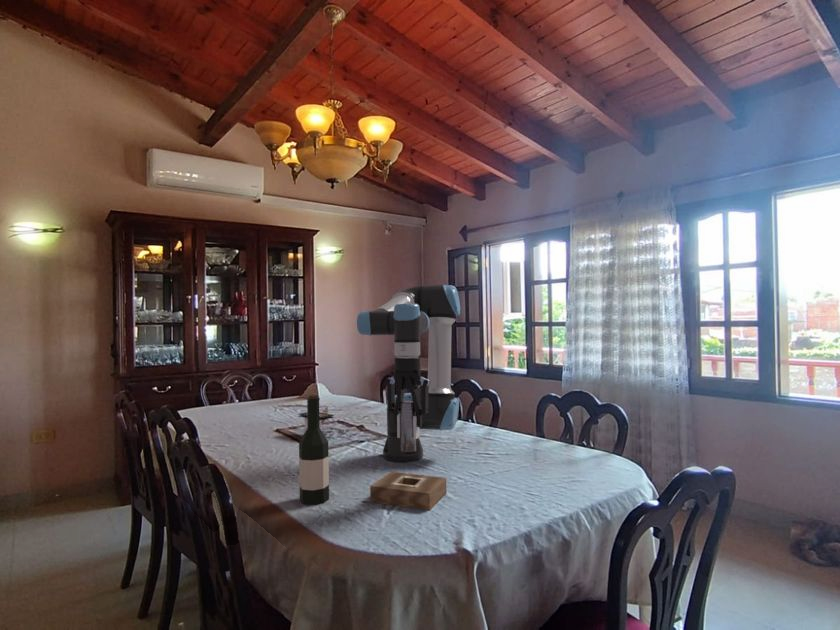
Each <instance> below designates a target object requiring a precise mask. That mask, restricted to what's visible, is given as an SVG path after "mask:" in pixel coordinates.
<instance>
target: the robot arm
mask: <svg viewBox="0 0 840 630" xmlns="http://www.w3.org/2000/svg"><path fill="white" fill-rule="evenodd" d="M460 315H461V302H460V297H459V292H458V289H457V288H456V286H454V285H450V284H438V285H437V284H435V285H432V284H431V285H415V286H410V287H407V288H405V289H402V290H400V291H398V292H396V293H395V294H393V296H392V297H391V299H390V300H389V301H386V302H385V303H384V304H382V305H380V306H379V307H378V308H376V309H374V310H366V311H360V312H359V313H358V315H357V318H356V328H357V331H358V334H360V335H362V336H363V335H365V336H370V337H371V336H393V337H394V339H393V341H394V344H393V345H394V347H393V349H394V356H395V358H394V374H393V376H391V377H388V378H387V377H386V378H385V379H384V380H385V384H386V386H387V387H386V388H387V389H386V391H387V403H386V425H387V426H386V427H387V429H386V431H387V434H386V435H387V436H386V439H385V442H384V446H383V449H382V458H383V459H385V460H387V461H391V462H400V463H402V462H412V461H417V460H420V459H422V458H423V457H424V448H423V445H422V443H421V440H420V430H433V431H434V430H435V431H440V432H441V431H451V430H453V429H454V428H455V426H456V424H457V422H458V417H459V410H460V408H459V407H460V400H459V398H457V397H456V396H455V392H454V391H453V390H452V387H451V385H452V383H451V382H452V381H451V380H452V325H453V324H454V323H455V322H456V320H457V316H458V317H459V316H460ZM427 331H428V354H427V355H428V357H427V358H428V359H427V360H428V361H427V378H425V377H424V376H423V375H422V373H421V358H420V357H419V356H420V355H421V335H423V334H424V333H426V332H427ZM395 383H396V384H397V388H395ZM419 384H420V385H421V397H420V395H419V387H418V385H419ZM395 389H397V390H396V391H397V394H395V393H396V392H395ZM407 390H409V392H406V391H407ZM402 401H413V404H414V409H415V413H416V415H415V416H413V437H414V439H416V451H415V452H402V451H401V413H400V402H402Z"/></svg>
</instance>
